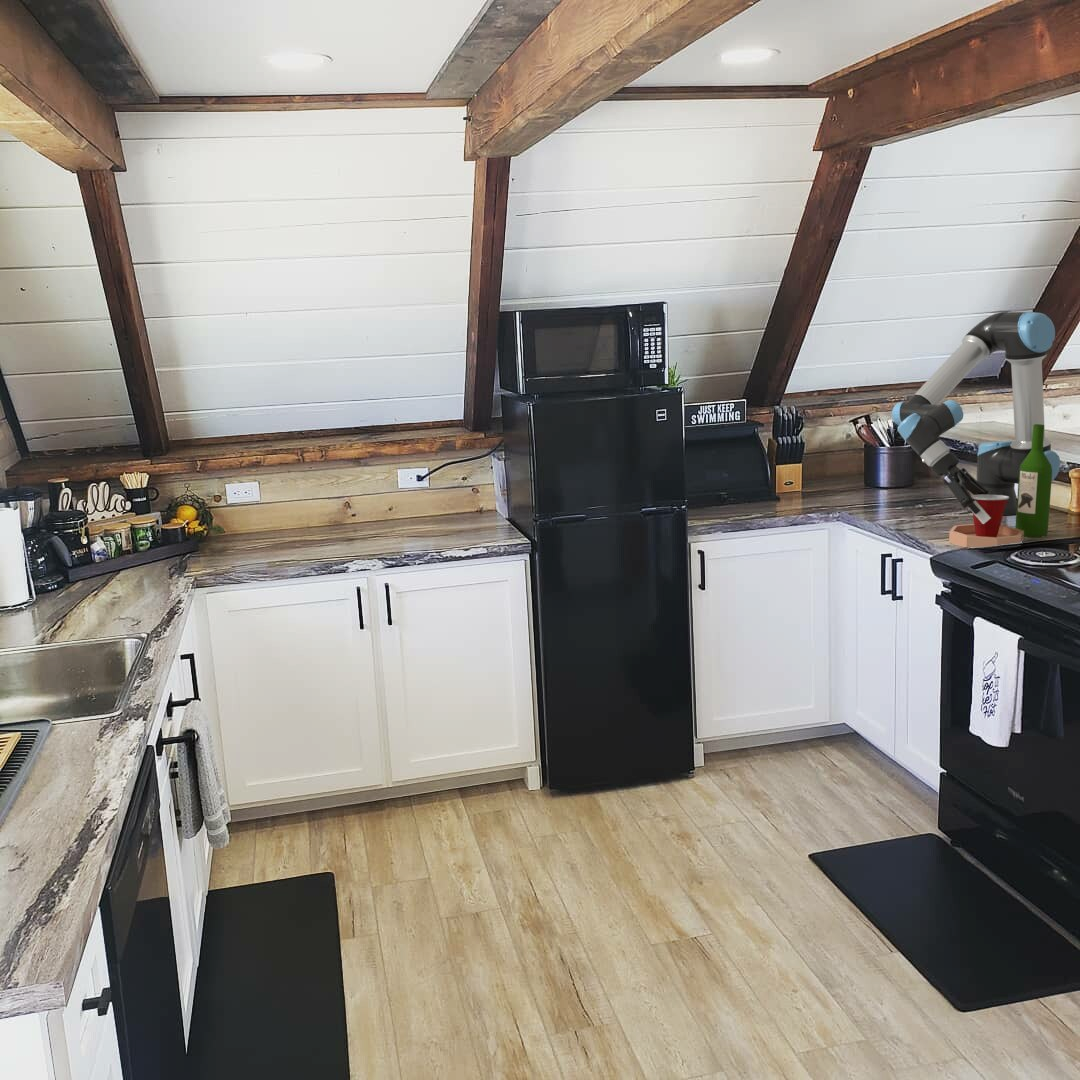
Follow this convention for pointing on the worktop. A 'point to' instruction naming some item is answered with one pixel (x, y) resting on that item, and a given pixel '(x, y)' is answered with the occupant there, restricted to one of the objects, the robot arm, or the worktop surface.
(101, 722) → the worktop surface
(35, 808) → the worktop surface
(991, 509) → the plastic cup
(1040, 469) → the wine bottle
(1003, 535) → the terracotta bowl
